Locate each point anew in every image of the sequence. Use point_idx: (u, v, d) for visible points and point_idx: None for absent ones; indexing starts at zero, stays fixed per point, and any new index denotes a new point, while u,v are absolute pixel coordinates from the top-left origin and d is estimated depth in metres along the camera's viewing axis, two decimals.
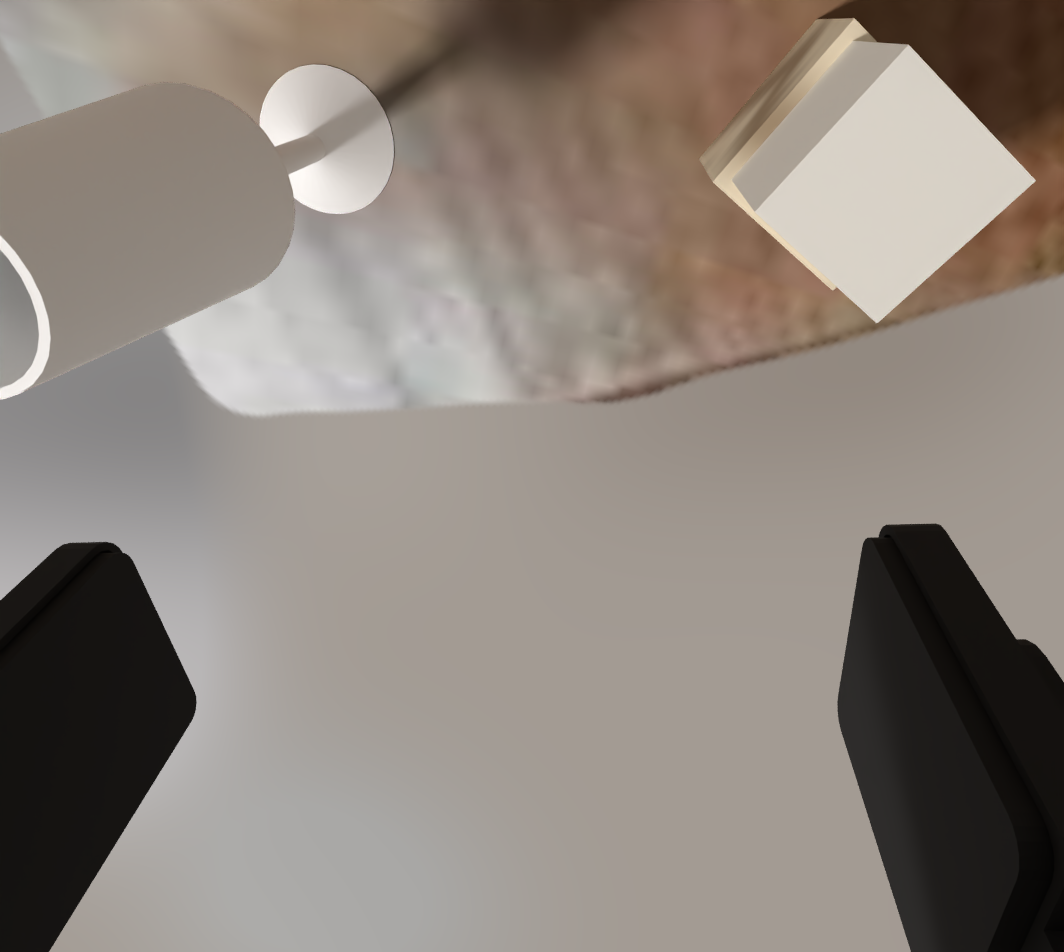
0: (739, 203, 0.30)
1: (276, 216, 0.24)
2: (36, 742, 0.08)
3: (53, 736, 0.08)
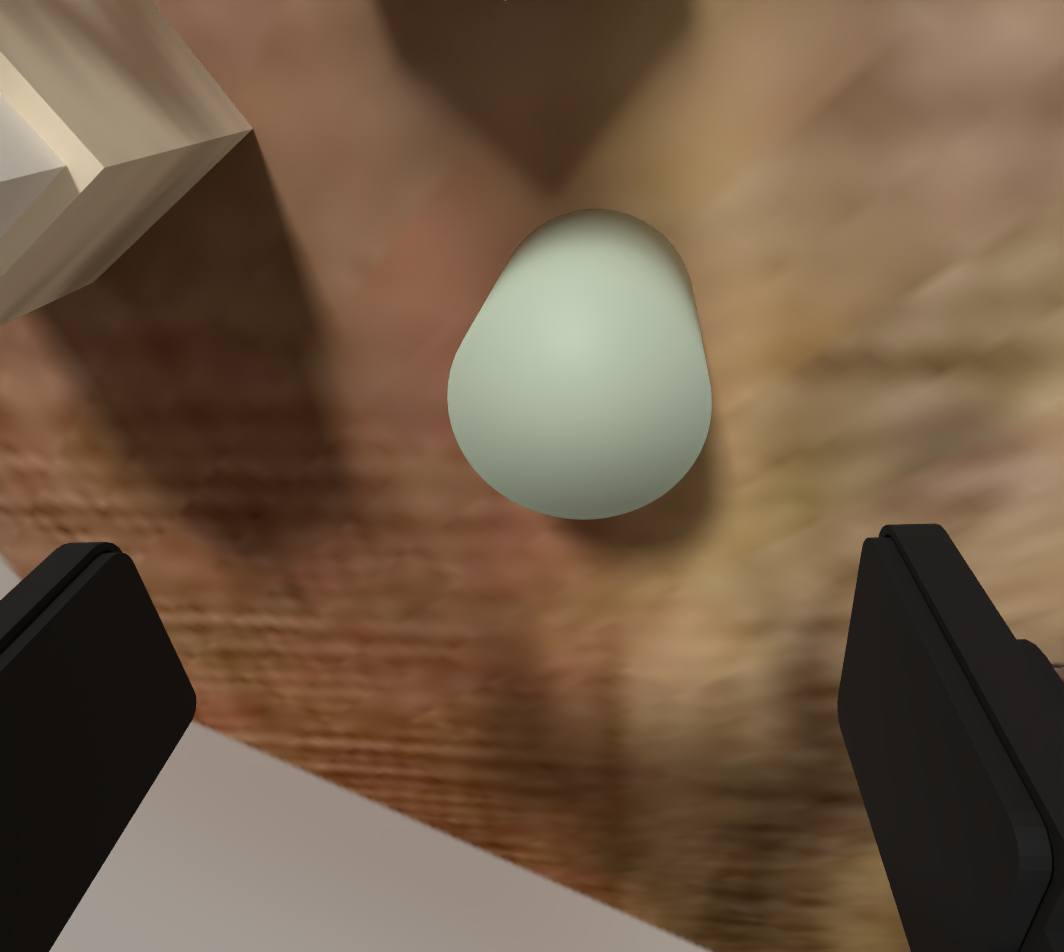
0: None
1: None
2: (36, 742, 0.08)
3: (53, 736, 0.08)
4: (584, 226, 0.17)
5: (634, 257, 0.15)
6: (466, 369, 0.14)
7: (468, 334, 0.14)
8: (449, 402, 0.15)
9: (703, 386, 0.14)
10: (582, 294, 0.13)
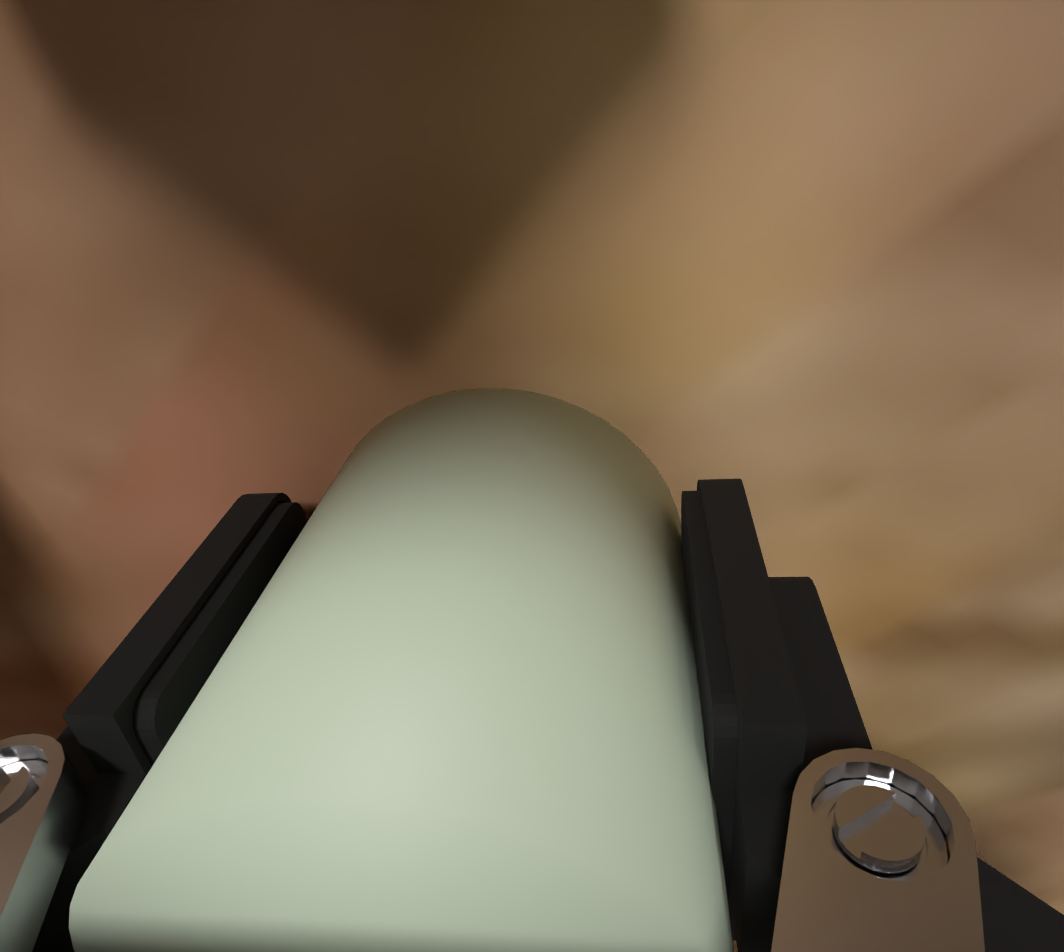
0: None
1: None
2: None
3: None
4: (454, 458, 0.08)
5: (547, 590, 0.06)
6: (107, 930, 0.06)
7: (86, 877, 0.05)
8: None
9: None
10: (370, 832, 0.04)
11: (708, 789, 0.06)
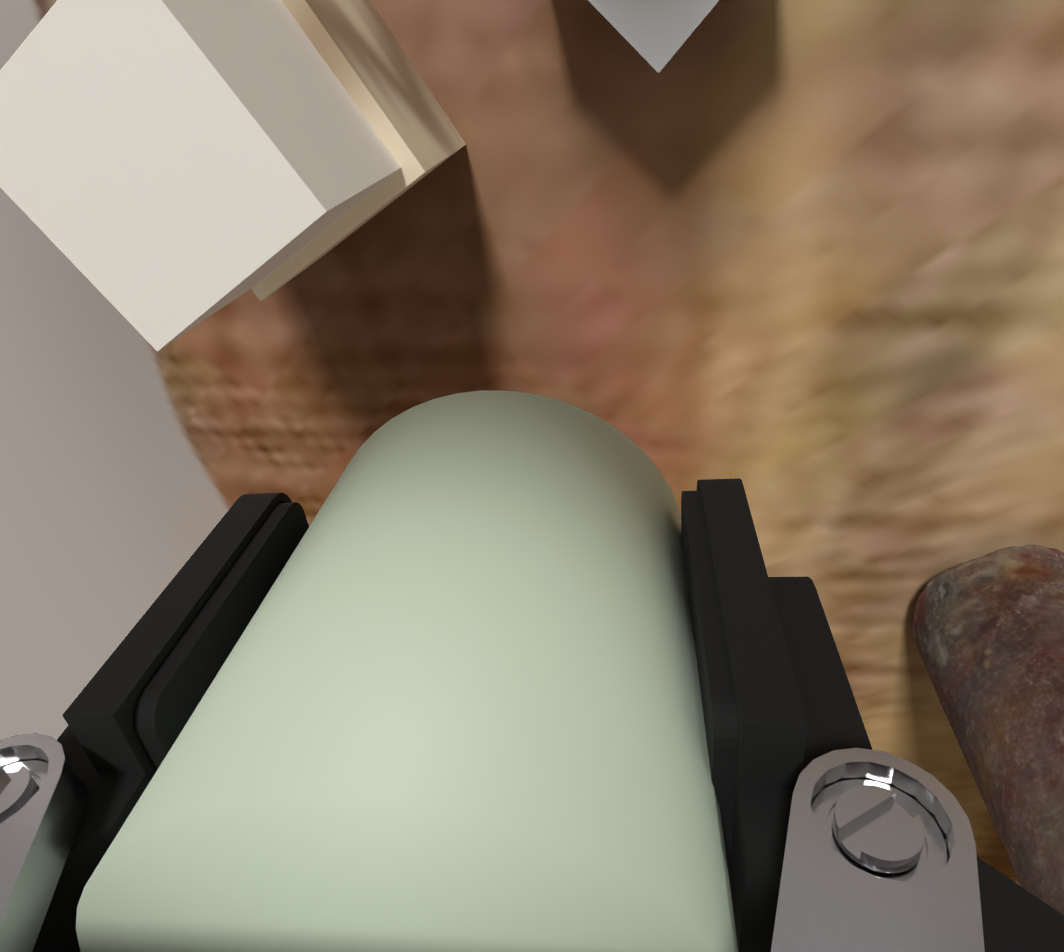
0: None
1: None
2: None
3: None
4: (459, 460, 0.08)
5: (551, 592, 0.06)
6: (114, 931, 0.06)
7: (93, 878, 0.05)
8: None
9: None
10: (377, 833, 0.05)
11: (712, 791, 0.06)
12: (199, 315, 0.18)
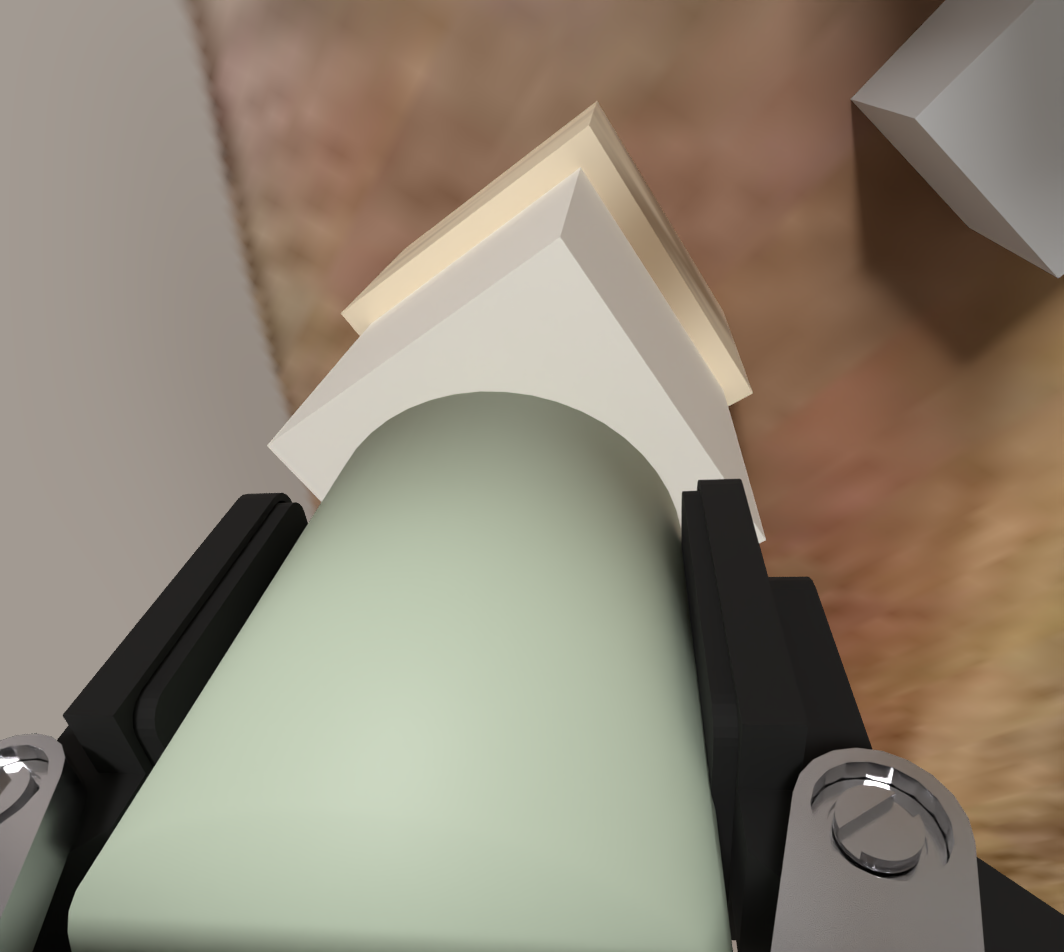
0: (533, 171, 0.15)
1: None
2: None
3: None
4: (454, 462, 0.08)
5: (547, 595, 0.06)
6: (106, 936, 0.06)
7: (85, 883, 0.05)
8: None
9: None
10: (370, 838, 0.04)
11: (708, 794, 0.06)
12: None
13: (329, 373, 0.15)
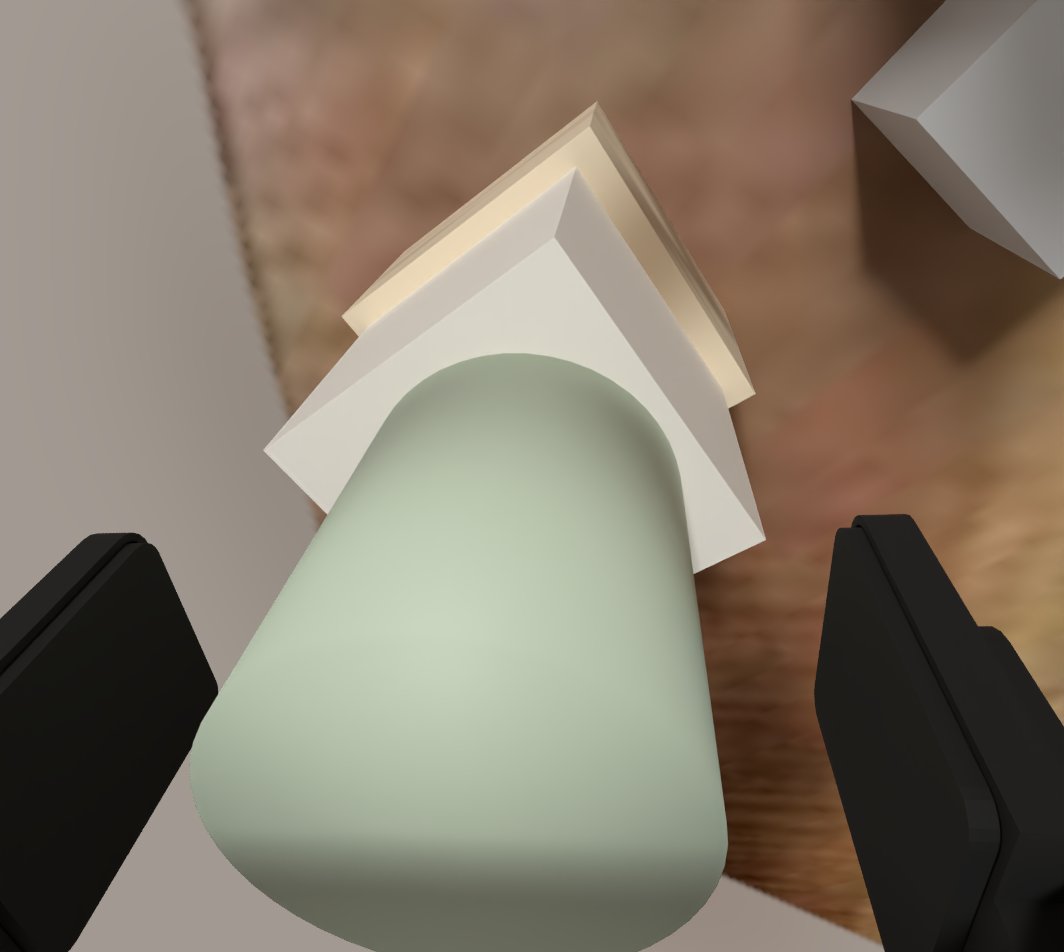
0: (534, 172, 0.15)
1: None
2: (68, 728, 0.08)
3: (84, 722, 0.08)
4: (485, 406, 0.09)
5: (567, 502, 0.08)
6: (220, 765, 0.07)
7: (209, 714, 0.07)
8: (200, 812, 0.07)
9: (710, 815, 0.07)
10: (437, 659, 0.06)
11: (701, 664, 0.08)
12: None
13: (326, 376, 0.15)
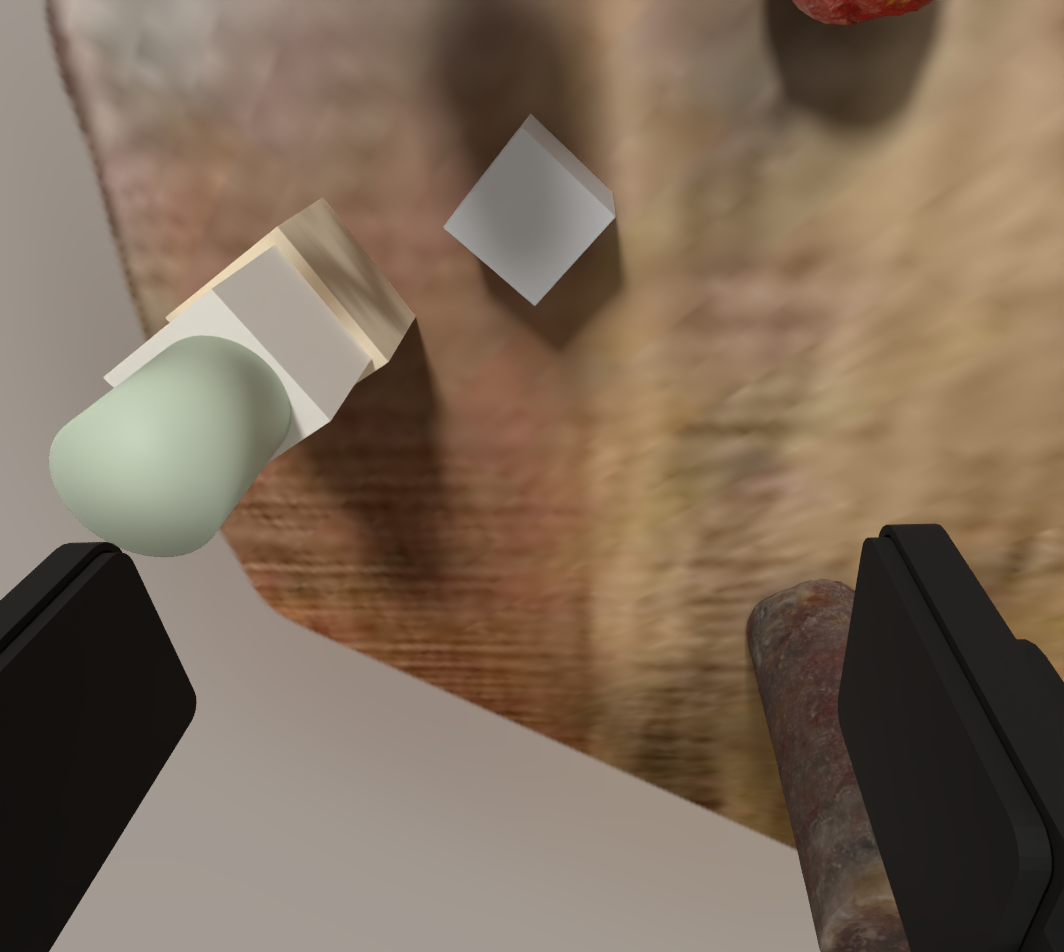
0: (254, 247, 0.30)
1: None
2: (36, 742, 0.08)
3: (53, 736, 0.08)
4: (176, 355, 0.24)
5: (185, 385, 0.23)
6: (59, 462, 0.22)
7: (53, 441, 0.21)
8: (53, 482, 0.22)
9: (208, 475, 0.22)
10: (117, 419, 0.21)
11: (229, 441, 0.23)
12: None
13: None
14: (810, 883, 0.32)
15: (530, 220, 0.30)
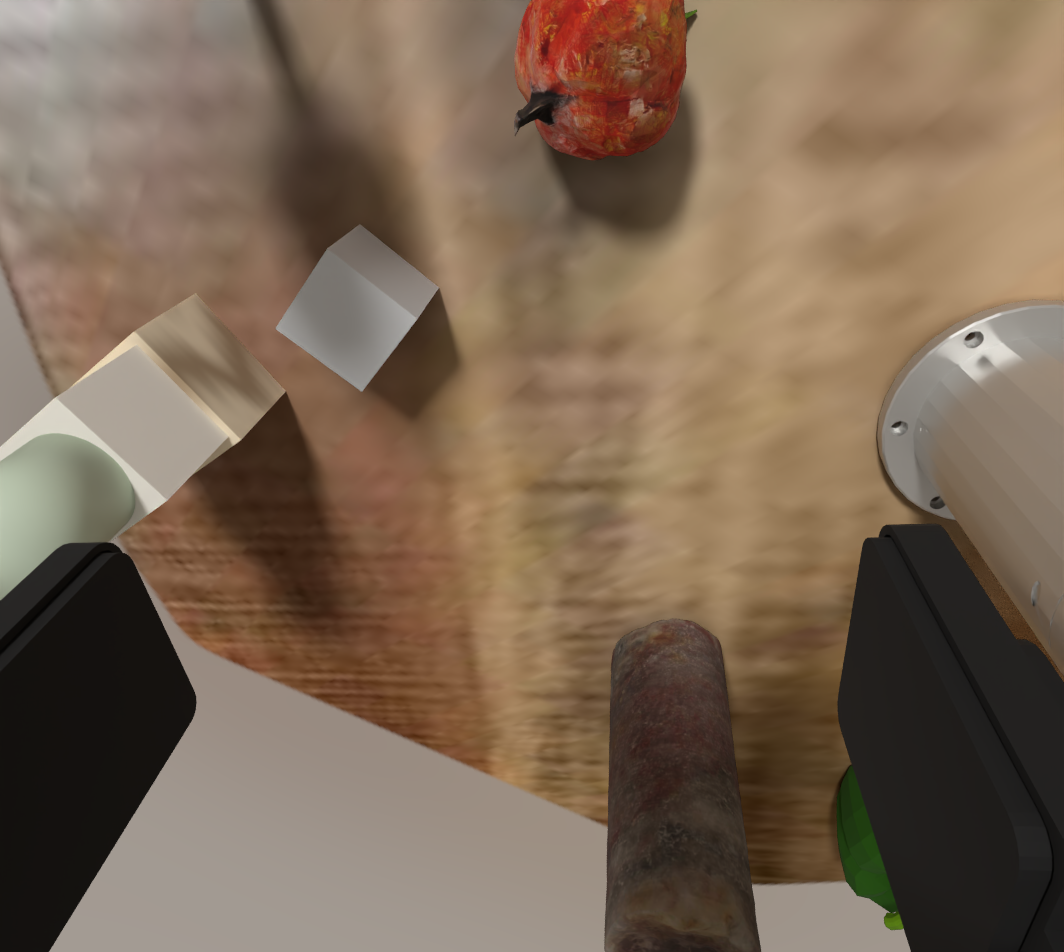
0: (118, 347, 0.36)
1: None
2: (36, 742, 0.08)
3: (53, 736, 0.08)
4: (23, 454, 0.30)
5: (19, 483, 0.28)
6: None
7: None
8: None
9: (30, 559, 0.27)
10: None
11: (55, 528, 0.28)
12: (109, 541, 0.34)
13: None
14: (606, 898, 0.36)
15: (346, 322, 0.35)
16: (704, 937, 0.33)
